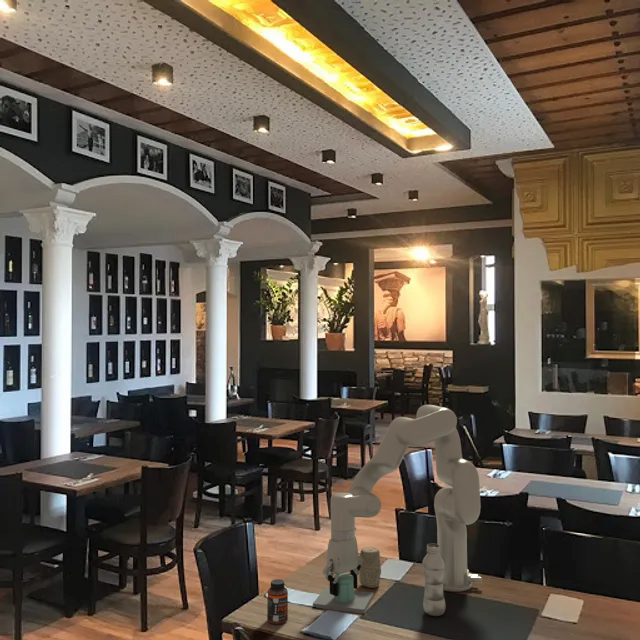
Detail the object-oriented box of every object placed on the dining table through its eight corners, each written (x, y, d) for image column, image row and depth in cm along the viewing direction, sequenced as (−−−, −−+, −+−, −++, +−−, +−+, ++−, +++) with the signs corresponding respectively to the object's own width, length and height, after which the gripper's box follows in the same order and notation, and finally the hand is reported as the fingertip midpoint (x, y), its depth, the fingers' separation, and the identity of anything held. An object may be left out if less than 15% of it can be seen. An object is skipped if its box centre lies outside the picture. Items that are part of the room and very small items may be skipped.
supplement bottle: (280, 627, 181) (279, 586, 181) (263, 622, 184) (262, 582, 184) (292, 619, 186) (291, 580, 186) (275, 614, 189) (275, 576, 189)
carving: (385, 586, 210) (384, 549, 210) (367, 591, 205) (366, 553, 206) (373, 580, 215) (372, 544, 215) (355, 585, 211) (354, 548, 211)
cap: (344, 592, 202) (343, 572, 202) (357, 598, 197) (357, 577, 197) (330, 597, 198) (330, 577, 198) (344, 603, 193) (343, 582, 193)
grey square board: (373, 596, 201) (373, 578, 201) (364, 613, 189) (363, 594, 189) (325, 591, 206) (325, 573, 206) (312, 607, 194) (312, 588, 194)
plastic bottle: (432, 620, 184) (431, 550, 184) (418, 611, 190) (417, 544, 190) (450, 616, 187) (449, 547, 187) (436, 607, 193) (434, 540, 193)
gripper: (354, 525, 207) (354, 580, 206) (314, 537, 195) (314, 595, 194) (371, 530, 201) (371, 587, 201) (330, 542, 189) (331, 602, 189)
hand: (343, 590), depth 198 cm, fingers open, 7 cm apart
